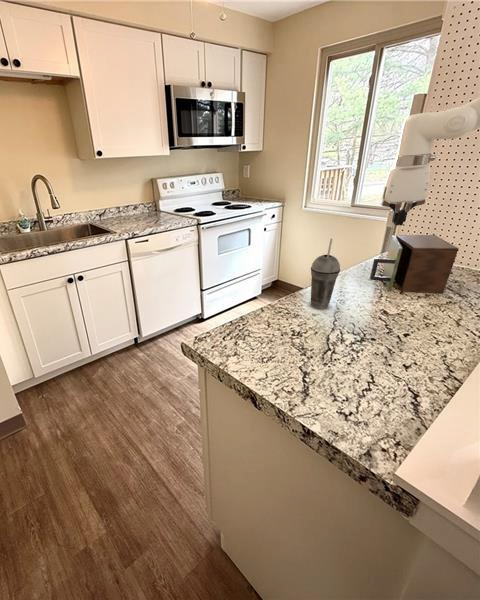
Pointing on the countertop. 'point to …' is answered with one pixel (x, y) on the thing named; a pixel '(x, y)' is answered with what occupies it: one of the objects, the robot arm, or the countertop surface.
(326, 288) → the beverage cup
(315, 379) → the countertop surface
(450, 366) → the countertop surface
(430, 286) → the cupboard
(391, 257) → the cupboard door
